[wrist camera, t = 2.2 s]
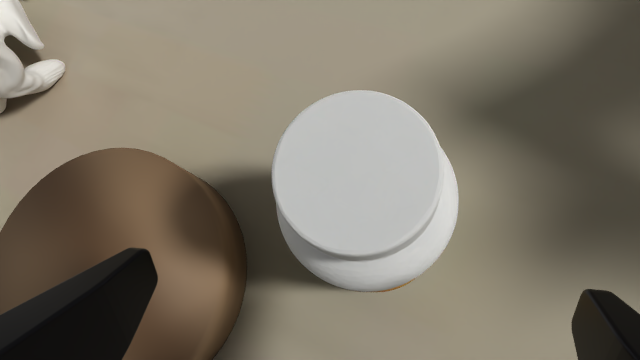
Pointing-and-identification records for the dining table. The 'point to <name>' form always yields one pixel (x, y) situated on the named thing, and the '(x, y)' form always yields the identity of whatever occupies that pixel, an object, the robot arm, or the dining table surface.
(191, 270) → the plinth
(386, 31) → the dining table surface
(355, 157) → the supplement bottle
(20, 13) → the white lumpy figure
